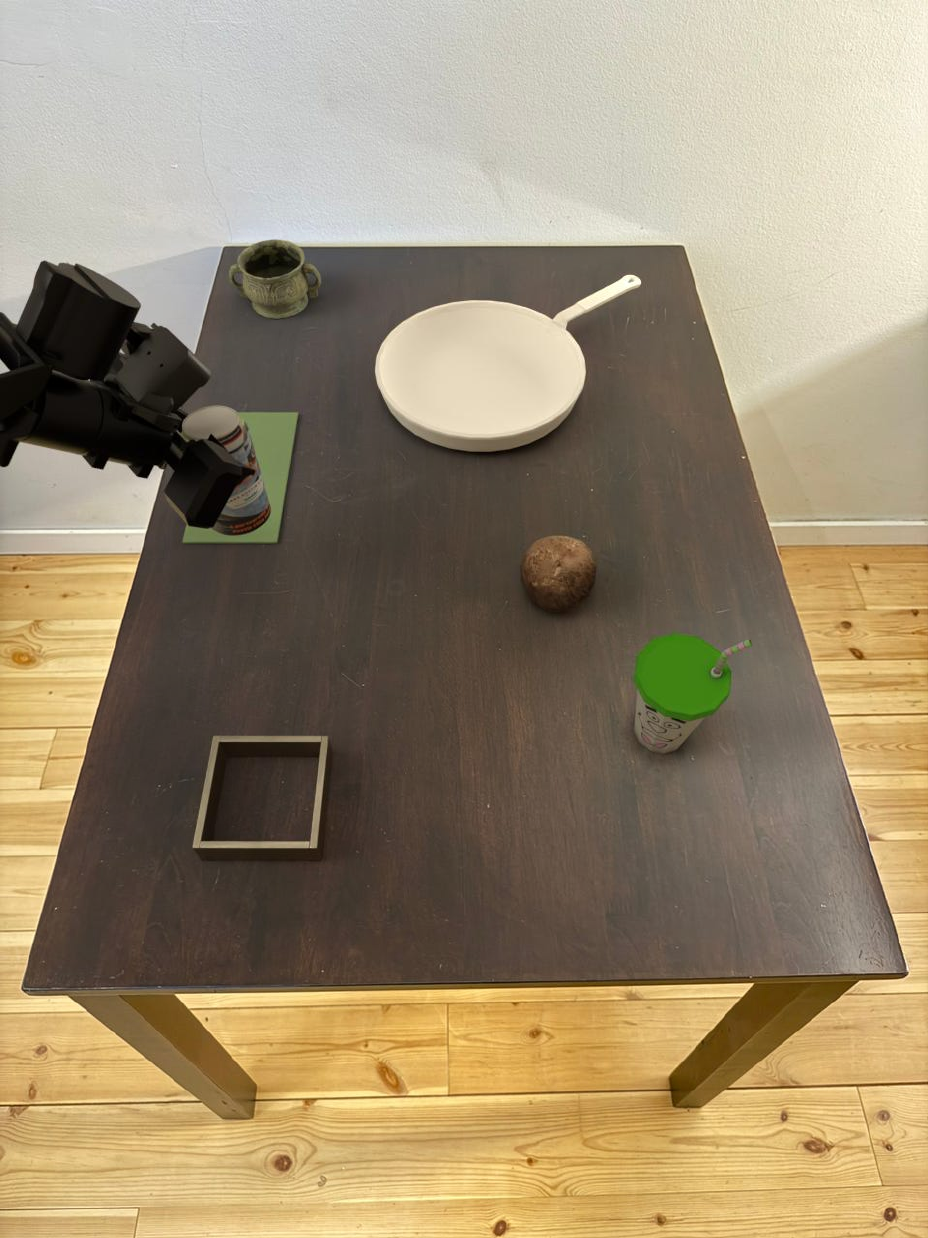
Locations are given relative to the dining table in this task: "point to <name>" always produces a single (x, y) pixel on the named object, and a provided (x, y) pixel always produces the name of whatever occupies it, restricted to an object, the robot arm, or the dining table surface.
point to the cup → (678, 688)
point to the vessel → (275, 278)
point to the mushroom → (558, 573)
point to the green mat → (274, 459)
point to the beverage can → (249, 497)
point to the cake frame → (262, 748)
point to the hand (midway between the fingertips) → (234, 456)
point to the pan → (485, 371)
